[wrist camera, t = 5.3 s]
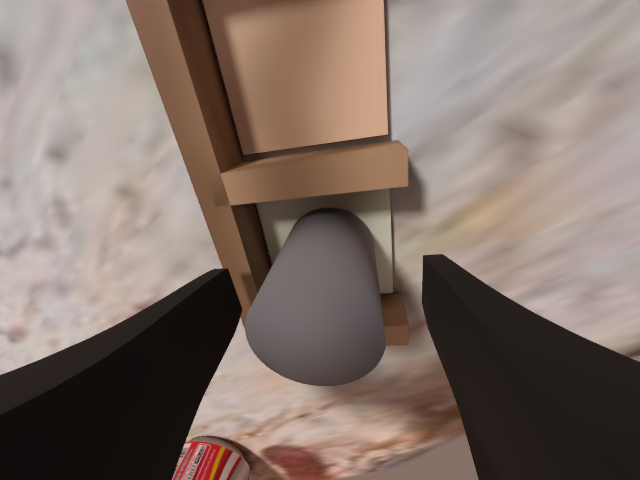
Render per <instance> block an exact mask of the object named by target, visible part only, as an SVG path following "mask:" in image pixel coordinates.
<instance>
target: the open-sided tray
mask: <svg viewBox="0 0 640 480" xmlns="http://www.w3.org/2000/svg"><path fill="white" fill-rule="evenodd" d="M202 1H203V4H204V8H205V12H206V16H207V19H208V23H209V27H210V31H211V35H212V38H213V42H214V46H215V50H216V53H217V57H218V61H219V65H220V69H221V72H222V76H223V80H224V84H225V87H226V91H227V95H228V99H229V103H230V106H231V110H232V114H233V118H234V121H235V125H236V129H237V133H238V137H239V140H240V144H241V148H242V152H243V155H247V154H254V153H261V152H268V151H275V150H282V149H289V148H296V147H303V146H310V145H317V144H324V143H331V142H338V141H345V140H352V139H359V138H366V137H373V136H380V135H387V134H388V120H387V89H386V59H385V28H384V0H202ZM126 2H127V5H128V8H129V11H130V13H131V16H132V19H133V22H134V25H135V27H136V30H137V33H138V36H139V38H140V41H141V44H142V47H143V49H144V52H145V55H146V58H147V60H148V63H149V66H150V69H151V71H152V74H153V77H154V80H155V82H156V85H157V88H158V91H159V93H160V96H161V99H162V102H163V104H164V107H165V110H166V113H167V115H168V118H169V121H170V124H171V127H172V129H173V132H174V135H175V138H176V140H177V143H178V146H179V149H180V151H181V154H182V157H183V160H184V162H185V165H186V168H187V171H188V173H189V176H190V179H191V182H192V184H193V187H194V190H195V193H196V195H197V198H198V201H199V204H200V206H201V209H202V212H203V215H204V217H205V220H206V223H207V226H208V229H209V231H210V234H211V237H212V240H213V242H214V245H215V248H216V251H217V253H218V256H219V259H220V262H221V264H222V267H223V269H225V268H228V270H229V272H230V275H231V278H232V281H233V284H234V287H235V289H236V292H237V295H238V298H239V301H240V304H241V306H242V309H243V310H242V313H241V316H240V317H241V319H242V322H243V325H244V328H245V322H246V317H247V314H248V311H249V309H250V307H251V305H252V304H253V302H254V300H255V298H256V296H257V294H258V292H259V290H260V288H261V286H262V285H263V283H264V281H265V279H266V277H267V275H268V273H269V271H270V269H271V267H272V266H271V263H270V259H269V255H268V251H267V248H266V244H265V240H264V236H263V233H262V229H261V225H260V221H259V218H258V214H257V210H256V207H255V203H256V205H257V208H258V212H259V216H260V220H261V224H262V227H263V231H264V235H265V239H266V242H267V246H268V250H269V254H270V258H271V261H272V265H273V264H274V262H275V260H276V258H277V256H278V254H279V252H280V250H281V249H282V247H283V245H284V243H285V241H286V239H287V237H288V235H289V233H290V231H291V230H292V228H293V226H294V224H295V223H296V222H297V221H298V220H299V219H300V218H301V217H302V216H303V215H305V214H306V213H308V212H310V211H313V210H315V209H319V208H326V207H331V208H339V209H343V210H346V211H349V212H351V213H353V214H354V215H356V216H357V217H359V218H360V219H361V220H362V221H363V222H364V223H365V224H366V226H367V227H368V228H369V230H370V232H371V235H372V237H373V242H374V249H375V257H376V265H377V273H378V281H379V289H380V293H393V272H392V242H391V211H390V188H396V187H405V186H408V148H407V147H405V146H404V145H403V144H402V143H401V142H399V141H398V140H397V141H390V142H382V143H375V144H368V145H361V146H353V147H346V148H339V149H332V150H324V151H317V152H310V153H303V154H295V155H288V156H281V157H274V158H266V159H259V160H252V161H245V162H243V158H242V154H241V150H240V147H239V143H238V139H237V135H236V132H235V128H234V124H233V120H232V117H231V113H230V109H229V105H228V102H227V98H226V94H225V90H224V87H223V83H222V79H221V76H220V72H219V68H218V64H217V61H216V57H215V53H214V49H213V46H212V42H211V38H210V34H209V31H208V27H207V23H206V19H205V16H204V12H203V8H202V4H201V1H200V0H126ZM380 297H381V305H382V313H383V321H384V329H385V338H386V344H385V345H408V322H407V318H406V313H405V309H404V305H403V301H402V297H401V294H380Z"/></svg>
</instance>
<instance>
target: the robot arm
mask: <svg viewBox="0 0 640 480" xmlns="http://www.w3.org/2000/svg"><path fill="white" fill-rule="evenodd" d="M422 305H423V309H424V314H425V318H426V322H427V325H428V329H429V332H430V334H431V337H432V340H433V342H434V345H435V348H436V350H437V353H438V355H439V358H440V360H441V363H442V365H443V368H444V371H445V373H446V376H447V378H448V381H449V383H450V386H451V388H452V391H453V394H454V397H455V399H456V402H457V405H458V408H459V411H460V415H461V418H462V422H463V425H464V429H465V432H466V436H467V439H468V442H469V446H470V450H471V453H472V457H473V460H474V464H475V468H476V471H477V475H478V479H479V480H640V362H638V361H636V360H633V359H631V358H629V357H626V356H624V355H622V354H619V353H617V352H615V351H613V350H610V349H608V348H606V347H603V346H601V345H599V344H597V343H594V342H592V341H590V340H588V339H586V338H583V337H581V336H579V335H577V334H575V333H573V332H571V331H569V330H567V329H565V328H563V327H561V326H559V325H557V324H555V323H553V322H551V321H549V320H547V319H545V318H543V317H541V316H539V315H537V314H535V313H533V312H532V311H530V310H528V309H526V308H524V307H523V306H521V305H519V304H518V303H516V302H514V301H512V300H511V299H509V298H507V297H506V296H504V295H502V294H501V293H499V292H498V291H496V290H494V289H493V288H491V287H490V286H488V285H487V284H485V283H484V282H482V281H481V280H479V279H478V278H476V277H475V276H473V275H472V274H470V273H469V272H467V271H466V270H464V269H463V268H462V267H460V266H459V265H457V264H456V263H455V262H453V261H452V260H450V259H449V258H447V257H446V256H444V255H443V254H438V255H423V281H422ZM242 310H243V309H242V306H241V304H240V301H239V298H238V295H237V292H236V289H235V287H234V284H233V281H232V278H231V275H230V272H229V270H228V268H225V269H213V270H211V271H209V272H207V273H205V274H203V275H201V276H199V277H198V278H196V279H194V280H193V281H191V282H189V283H188V284H186V285H184V286H183V287H181V288H179V289H178V290H176V291H174V292H173V293H171V294H169V295H168V296H166V297H164V298H163V299H161V300H160V301H158V302H156V303H154V304H153V305H151V306H149V307H147V308H146V309H144V310H142V311H140V312H139V313H137V314H135V315H133V316H132V317H130V318H128V319H126V320H124V321H122V322H121V323H119V324H117V325H115V326H113V327H111V328H109V329H107V330H105V331H103V332H101V333H99V334H97V335H95V336H93V337H91V338H89V339H86V340H84V341H82V342H80V343H78V344H75V345H73V346H71V347H68V348H66V349H64V350H62V351H59V352H57V353H55V354H52V355H50V356H48V357H46V358H43V359H41V360H38V361H36V362H33V363H31V364H28V365H26V366H23V367H21V368H18V369H16V370H13V371H10V372H8V373H5V374H2V375H0V480H172V478H173V475H174V472H175V469H176V466H177V463H178V461H179V458H180V455H181V452H182V450H183V447H184V444H185V441H186V438H187V436H188V433H189V430H190V428H191V425H192V423H193V420H194V418H195V415H196V412H197V410H198V407H199V405H200V402H201V400H202V398H203V396H204V394H205V392H206V389H207V387H208V385H209V383H210V381H211V379H212V377H213V376H214V374H215V372H216V370H217V368H218V366H219V364H220V362H221V360H222V358H223V356H224V354H225V352H226V350H227V348H228V346H229V344H230V342H231V340H232V338H233V336H234V333H235V331H236V328H237V325H238V322H239V319H240V316H241V313H242Z"/></svg>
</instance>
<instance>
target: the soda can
mask: <svg viewBox="0 0 640 480" xmlns="http://www.w3.org/2000/svg"><path fill="white" fill-rule="evenodd" d="M249 474H250V468H249V465H248V463H247V462H246V461H245V459H244V458H243V454H242V453H241V451H240V450H239V449H238V448H237V447H235V446H234V445H232V444H231V443H229V442H226V441H224V440H221V439H218V438H213V437H198V438H195V439H193V440H192V441H188V442H185V444H184V447H183V450H182V452H181V455H180V458H179V461H178V463H177V466H176V469H175V472H174V475H173V478H172V480H248V479H249Z"/></svg>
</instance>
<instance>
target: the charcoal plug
mask: <svg viewBox="0 0 640 480" xmlns="http://www.w3.org/2000/svg"><path fill="white" fill-rule="evenodd" d="M245 332H246V337H247V340H248V343H249V345H250V347H251V349H252V350H253V352H254V353H255V355H256V356H257V357H258V358H259V359H260V360H261V361H262V362H263V363H264V364H265V365H266V366H267V367H269V368H270V369H271V370H273V371H274V372H276V373H278V374H280V375H281V376H283V377H286V378H288V379H290V380H293V381H296V382H300V383H303V384H309V385H316V386H334V385H341V384H346V383H349V382H352V381H355V380H357V379H360V378H361V377H363V376H365V375H366V374H368V373H369V372H371V371H372V370H373V369H374V368H375V367H376V366H377V364H378V363H379V362H380V360H381V358H382V356H383V353H384V350H385V344H386V338H385V329H384V321H383V313H382V305H381V297H380V289H379V281H378V273H377V265H376V257H375V249H374V242H373V237H372V235H371V232H370V230H369V228H368V227H367V226H366V224H365V223H364V222H363V221H362V220H361V219H360V218H359V217H357V216H356V215H354V214H353V213H351V212H349V211H346V210H343V209H339V208H331V207H326V208H319V209H315V210H313V211H310V212H308V213H306V214H305V215H303V216H302V217H301V218H300V219H299V220H298V221H297V222H296V223H295V224H294V226H293V228H292V230H291V231H290V233H289V235H288V237H287V239H286V241H285V243H284V245H283V247H282V249H281V250H280V252H279V254H278V256H277V258H276V260H275V262H274V264H273V266H272V267H271V269H270V271H269V273H268V275H267V277H266V279H265V281H264V283H263V285H262V286H261V288H260V290H259V292H258V294H257V296H256V298H255V300H254V302H253V304H252V305H251V307H250V309H249V311H248V314H247V317H246V322H245Z"/></svg>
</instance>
